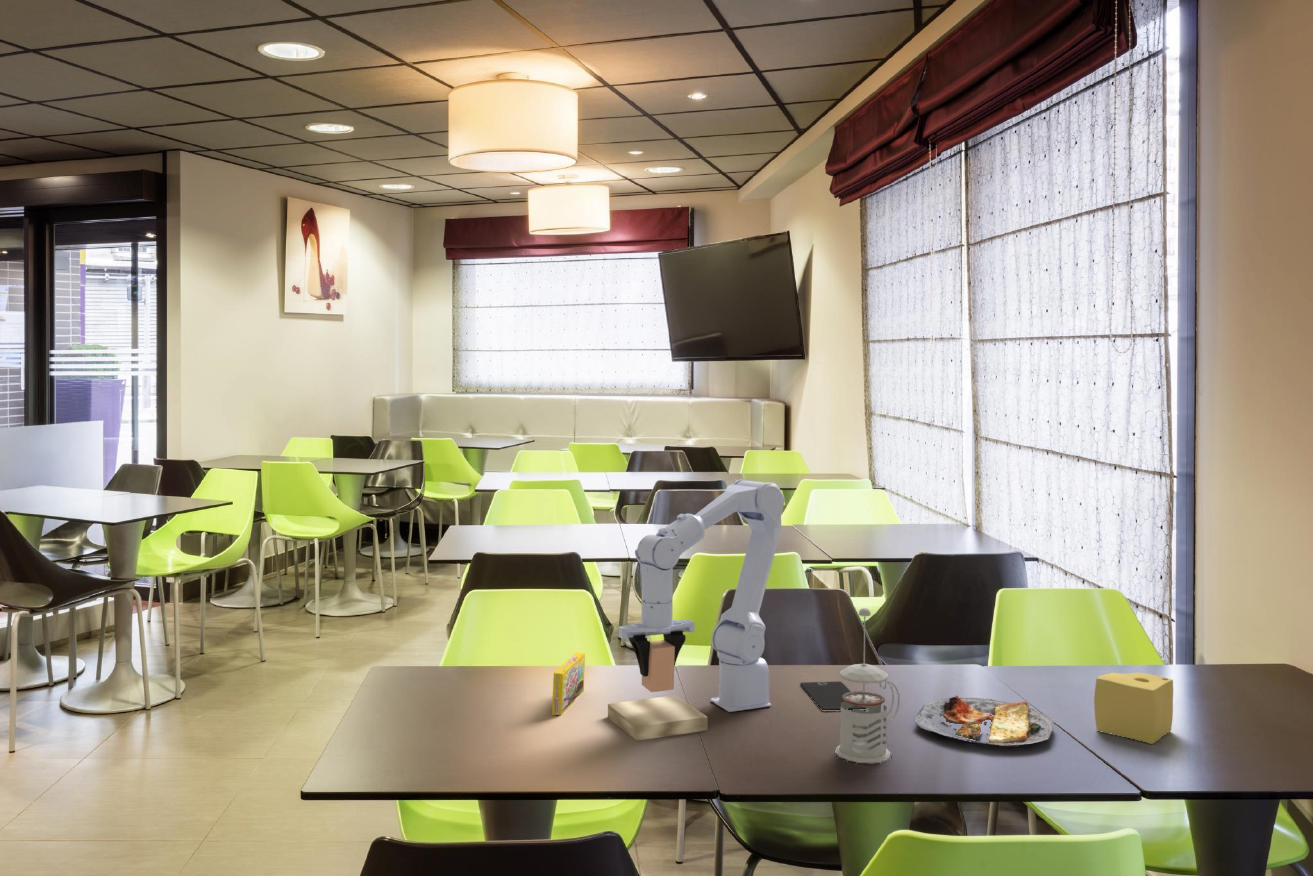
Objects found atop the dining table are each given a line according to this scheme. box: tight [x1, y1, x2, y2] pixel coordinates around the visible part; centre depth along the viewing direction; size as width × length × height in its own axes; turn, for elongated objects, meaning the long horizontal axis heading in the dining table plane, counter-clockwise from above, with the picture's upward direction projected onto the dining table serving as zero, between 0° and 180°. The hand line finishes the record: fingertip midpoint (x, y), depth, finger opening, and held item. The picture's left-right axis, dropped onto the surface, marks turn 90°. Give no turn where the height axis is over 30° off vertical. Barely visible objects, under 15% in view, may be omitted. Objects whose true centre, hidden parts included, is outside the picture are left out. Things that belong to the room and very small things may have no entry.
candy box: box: [551, 651, 586, 716], centre depth 200 cm, size 16×2×8 cm, turn 168°
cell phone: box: [799, 680, 866, 710], centre depth 204 cm, size 9×18×1 cm, turn 6°
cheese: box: [1093, 672, 1174, 745], centre depth 184 cm, size 10×11×10 cm
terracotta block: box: [641, 639, 675, 693], centre depth 187 cm, size 4×4×8 cm
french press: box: [835, 607, 901, 762], centre depth 172 cm, size 10×12×25 cm
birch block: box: [607, 694, 708, 742], centre depth 188 cm, size 14×14×3 cm
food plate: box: [914, 695, 1055, 748], centre depth 186 cm, size 25×23×4 cm
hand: (656, 673), depth 188 cm, fingers closed on terracotta block, 4 cm apart
